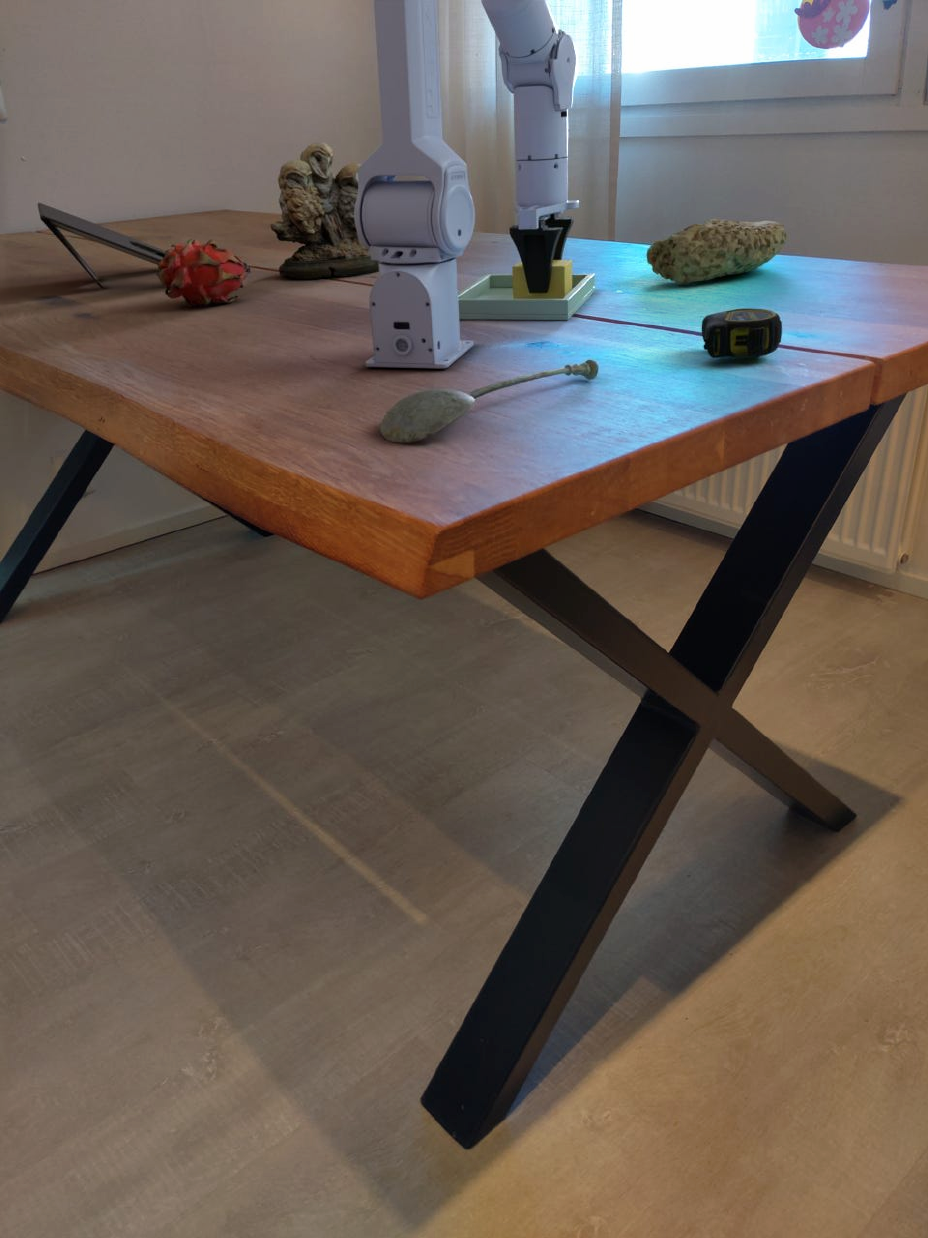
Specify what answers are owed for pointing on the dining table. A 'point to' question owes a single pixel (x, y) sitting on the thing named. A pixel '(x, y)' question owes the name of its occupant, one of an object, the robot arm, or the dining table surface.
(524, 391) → the dining table surface
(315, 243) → the owl figurine
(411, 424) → the soupspoon
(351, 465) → the dining table surface
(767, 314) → the tape measure
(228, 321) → the dining table surface
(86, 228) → the laptop tray
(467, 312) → the tray
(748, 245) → the sponge
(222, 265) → the dragon fruit
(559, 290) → the yellow block
